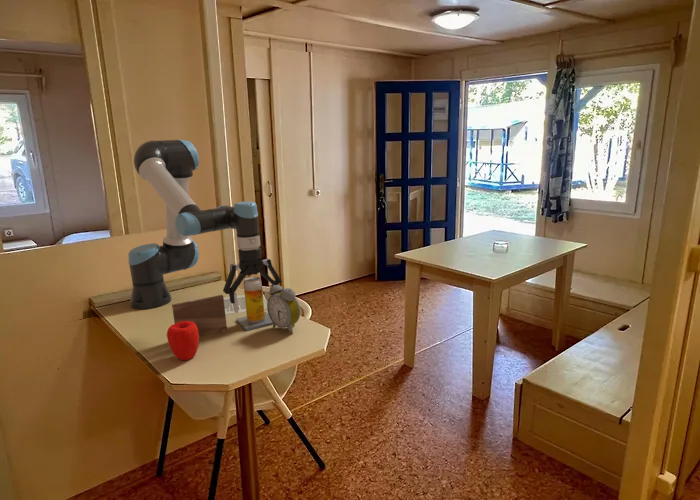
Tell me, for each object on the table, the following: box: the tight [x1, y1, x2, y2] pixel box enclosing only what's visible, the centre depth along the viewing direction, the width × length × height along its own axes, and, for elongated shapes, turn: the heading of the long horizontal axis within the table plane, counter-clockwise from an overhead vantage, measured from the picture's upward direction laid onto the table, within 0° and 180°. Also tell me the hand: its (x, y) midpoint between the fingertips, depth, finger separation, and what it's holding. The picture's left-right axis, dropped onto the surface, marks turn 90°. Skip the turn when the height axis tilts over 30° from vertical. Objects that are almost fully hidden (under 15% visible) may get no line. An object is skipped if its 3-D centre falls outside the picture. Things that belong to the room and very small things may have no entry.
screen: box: [171, 294, 229, 337], centre depth 149 cm, size 5×16×12 cm, turn 120°
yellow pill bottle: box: [243, 276, 265, 323], centre depth 157 cm, size 6×6×15 cm
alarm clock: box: [266, 284, 301, 335], centre depth 150 cm, size 12×7×15 cm, turn 47°
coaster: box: [236, 311, 273, 332], centre depth 159 cm, size 11×11×1 cm
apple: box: [166, 321, 200, 361], centre depth 133 cm, size 9×9×11 cm
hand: (255, 307), depth 158 cm, fingers open, 13 cm apart
